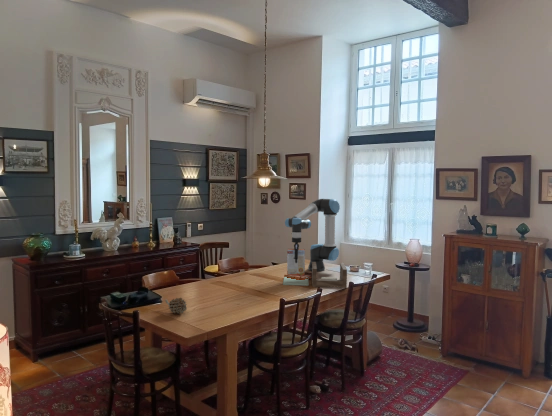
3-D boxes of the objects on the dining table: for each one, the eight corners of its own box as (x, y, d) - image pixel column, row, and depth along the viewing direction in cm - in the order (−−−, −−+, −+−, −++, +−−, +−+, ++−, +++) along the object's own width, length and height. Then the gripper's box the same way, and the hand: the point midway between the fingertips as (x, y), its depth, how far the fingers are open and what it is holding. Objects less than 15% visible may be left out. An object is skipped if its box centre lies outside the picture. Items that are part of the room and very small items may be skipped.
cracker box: (304, 274, 349) (305, 248, 347) (304, 276, 343) (305, 250, 341) (287, 273, 350) (287, 248, 348) (286, 275, 344) (287, 249, 342)
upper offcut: (321, 280, 344) (321, 277, 344) (336, 281, 342) (336, 278, 341) (320, 281, 339) (320, 278, 338) (336, 282, 336) (336, 279, 336)
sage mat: (284, 277, 359) (284, 276, 359) (308, 278, 358) (308, 277, 358) (282, 284, 336) (282, 284, 335) (308, 285, 334) (308, 284, 334)
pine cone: (191, 314, 263) (191, 298, 262) (178, 317, 256) (178, 301, 255) (170, 306, 278) (169, 291, 277) (157, 310, 270) (157, 294, 269)
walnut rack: (311, 278, 357) (312, 261, 356) (343, 279, 355) (343, 262, 354) (312, 286, 331) (312, 268, 330) (346, 287, 330) (347, 269, 328)
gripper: (292, 235, 354) (291, 263, 356) (291, 238, 335) (291, 268, 337) (301, 235, 353) (300, 263, 355) (301, 239, 334) (300, 268, 336)
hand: (296, 265), depth 346 cm, fingers closed on cracker box, 6 cm apart
